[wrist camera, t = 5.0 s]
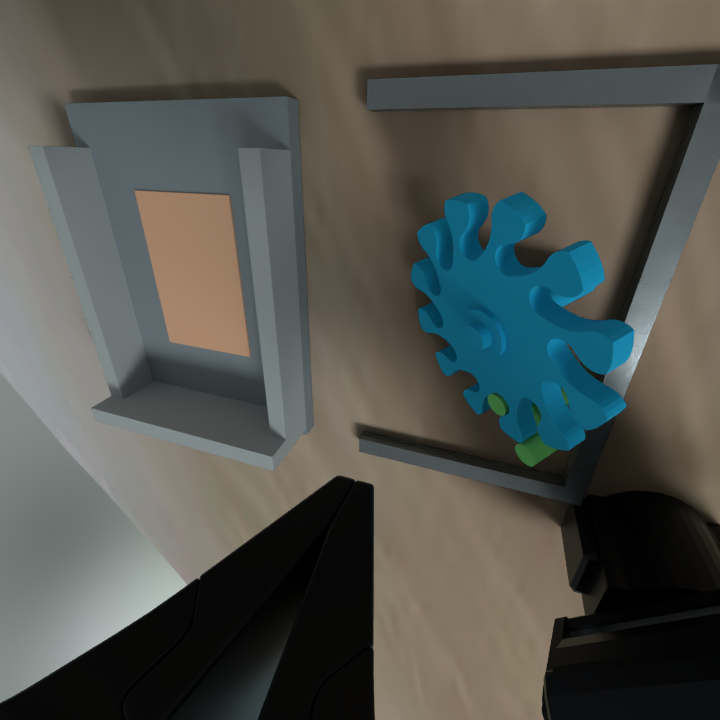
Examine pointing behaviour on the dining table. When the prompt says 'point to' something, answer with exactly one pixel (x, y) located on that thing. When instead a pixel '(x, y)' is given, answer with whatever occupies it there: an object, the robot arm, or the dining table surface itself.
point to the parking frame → (661, 251)
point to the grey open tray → (190, 267)
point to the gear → (519, 324)
